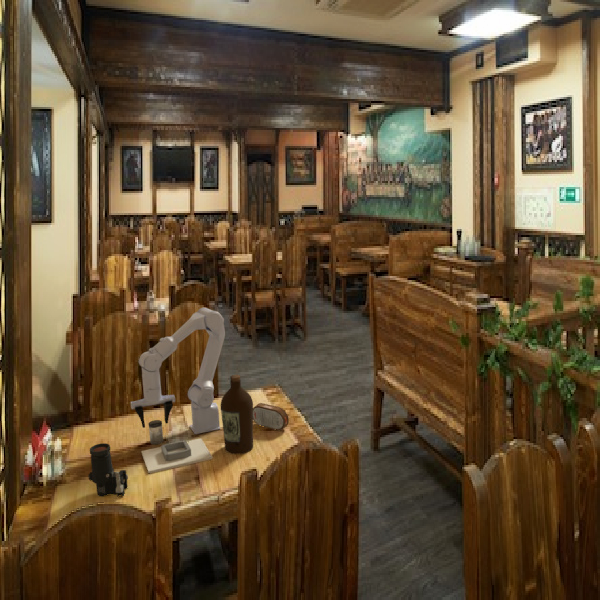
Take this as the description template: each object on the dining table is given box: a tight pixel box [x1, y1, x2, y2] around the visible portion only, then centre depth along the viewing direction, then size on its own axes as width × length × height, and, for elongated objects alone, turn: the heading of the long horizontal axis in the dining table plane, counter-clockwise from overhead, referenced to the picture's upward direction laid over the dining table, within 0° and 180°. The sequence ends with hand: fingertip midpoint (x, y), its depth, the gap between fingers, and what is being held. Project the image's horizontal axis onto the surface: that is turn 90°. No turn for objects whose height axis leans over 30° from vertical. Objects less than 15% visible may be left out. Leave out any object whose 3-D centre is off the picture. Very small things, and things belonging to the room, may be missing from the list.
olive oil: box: [220, 374, 254, 455], centre depth 172 cm, size 11×11×25 cm
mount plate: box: [141, 437, 213, 474], centre depth 170 cm, size 20×15×3 cm
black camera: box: [87, 442, 129, 498], centre depth 148 cm, size 8×14×10 cm
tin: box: [253, 402, 290, 431], centre depth 189 cm, size 15×3×8 cm, turn 58°
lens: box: [147, 419, 164, 445], centre depth 180 cm, size 4×4×7 cm
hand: (155, 424), depth 180 cm, fingers open, 7 cm apart
